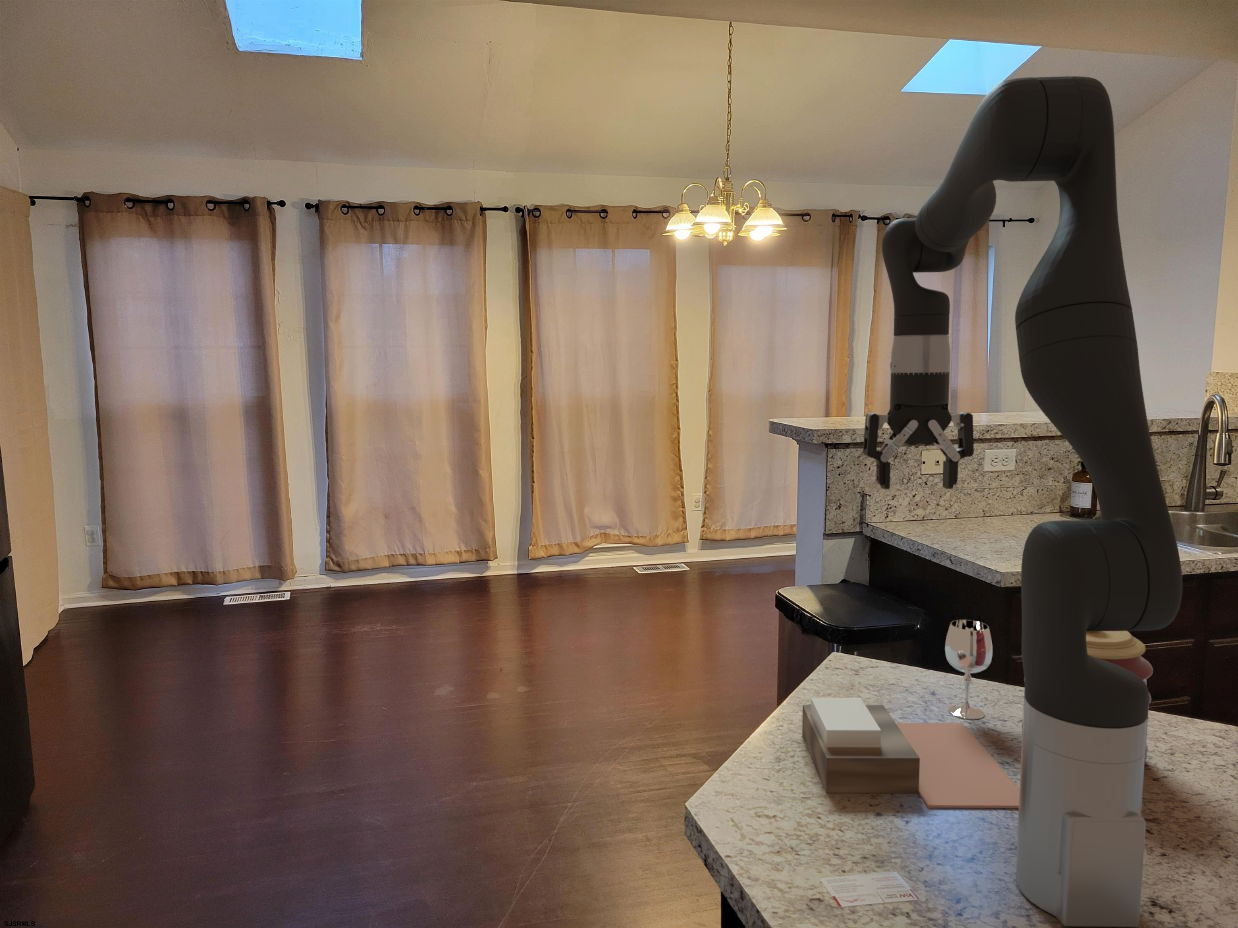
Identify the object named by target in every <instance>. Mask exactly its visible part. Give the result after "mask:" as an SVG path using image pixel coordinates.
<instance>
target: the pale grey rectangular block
mask: <svg viewBox="0 0 1238 928" xmlns="http://www.w3.org/2000/svg"><path fill="white" fill-rule="evenodd" d="M810 705H811V715H812V717H813V720H814V722H815V724H816V726H817V728H818V730H819V733H820V735H821V737H822V739H823V741H824V743H825V745H826V747H881V729H880V728H879V726H878V725H877V723H876V721H875V720H874V718H873V717H872V715H871V714H870V712H869V710H868V709H867V707H866V706H865V705H866V704H865V702H864V701H863V699H862V698H861V697H810Z"/></svg>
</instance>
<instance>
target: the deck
mask: <svg viewBox="0 0 1238 928" xmlns="http://www.w3.org/2000/svg"><path fill="white" fill-rule="evenodd" d="M865 706H866V707H867V709H868V710H869V712H870V714H871V715H872V717H873V718H874V720H875V721H876V723H877V725H878V726H879V728H880V729H881V747H826V745H825V743H824V741H823V739H822V737H821V735H820V733H819V730H818V728H817V726H816V724H815V722H814V720H813V717H812V715H811V704H802V720H801V721H802V725H801V727H802V728H801V730H802V739H803V741H804V743H805V746H806V748H807V750H808V752H809V755H810V758H811V760H812V762H813V765H814V767H815V769H816V772H817V775H818V776H819V779H820V782H821V783H822V786H823V789H824V791H825V793H826V794H827V793H829V794H831V793H833V794H835V793H836V794H837V793H839V794H845V793H846V794H851V793H852V794H874V793H875V794H919V769H920V758H919V756H918V755H917V753H916V752H915V750H914V749H913V748H912V746H911V745H910V743H909V742H908V740H907V739H906V737H905V736H904V734H903V733H902V732H901V730H900V729H899V727H898V726H897V724H896V723H897V722H896V721H895V720H894V718H893V717H892V715H891V714H890V713H889V711H888V710H887V708H886V707H885V706H884V705H883V704H865Z"/></svg>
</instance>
